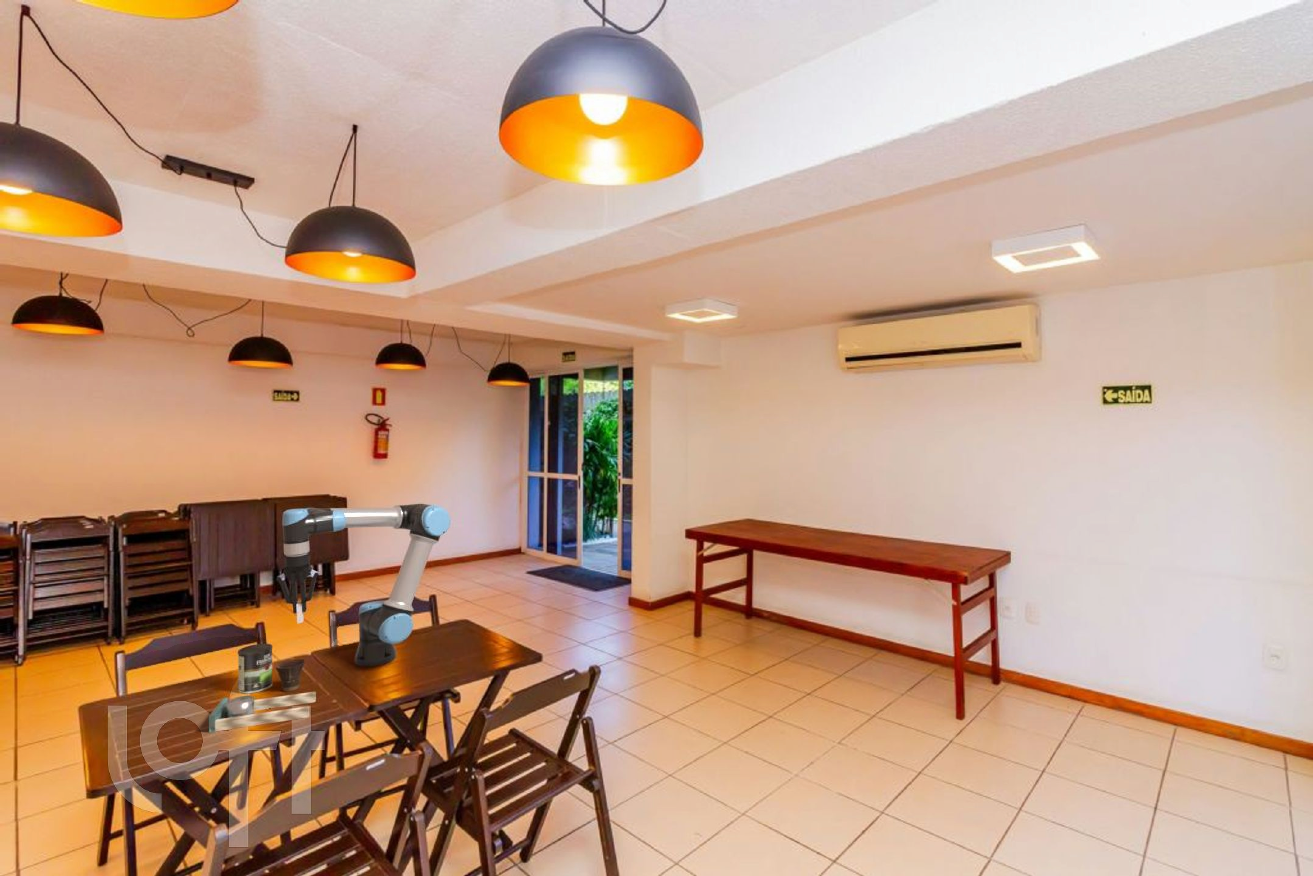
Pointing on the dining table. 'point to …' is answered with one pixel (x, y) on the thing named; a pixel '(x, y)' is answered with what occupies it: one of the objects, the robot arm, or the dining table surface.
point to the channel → (220, 712)
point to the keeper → (240, 706)
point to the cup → (290, 673)
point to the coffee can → (255, 668)
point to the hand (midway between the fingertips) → (300, 621)
